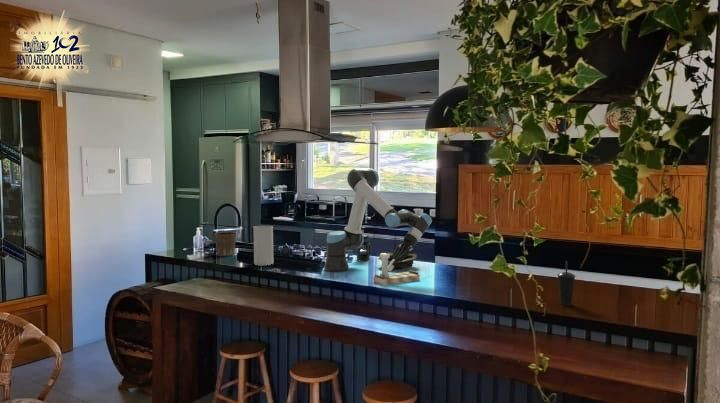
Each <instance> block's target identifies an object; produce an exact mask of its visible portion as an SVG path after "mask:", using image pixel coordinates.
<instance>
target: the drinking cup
mask: <svg viewBox="0 0 720 403" xmlns="http://www.w3.org/2000/svg"><path fill="white" fill-rule="evenodd" d="M556 275H557V282H558V293H559V304H560V306H563V307H564V306H565V307H572V305H573V297H574V287H575V281H576V280H575V278H576V274H574V273H572V272H569V271H568V260H565V271H562V272H560V273H557V274H556Z"/></svg>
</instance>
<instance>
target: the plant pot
mask: <svg viewBox="0 0 720 403" xmlns="http://www.w3.org/2000/svg"><path fill="white" fill-rule="evenodd" d="M237 234H238V233H237V232H236V231H235V232H233V231H226V232H225V231H223V232H214V233H213V235H214V240H215V243H216V244H215V246H216V254H217V256H218V257H219V256H220V257H223V256H225V257H230V256H231V255H233V256H234V255H235V252H236V251H235V250H236V249H235V248H236V239H237Z"/></svg>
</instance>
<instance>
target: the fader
mask: <svg viewBox="0 0 720 403" xmlns="http://www.w3.org/2000/svg"><path fill="white" fill-rule="evenodd" d="M379 257H381V258H382V261H381V272H380V274H379V276H383V277H384V278H387V277H390V276H389V274H390V273H389V270H388V258H390V254H386V252H381V253H379Z"/></svg>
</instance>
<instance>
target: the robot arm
mask: <svg viewBox="0 0 720 403" xmlns="http://www.w3.org/2000/svg"><path fill="white" fill-rule="evenodd" d="M379 177H380V176H379V173H378V172H377V171H376V170H375V169H374V168H369V167H367V168H366V167H363V168H361V167H357V168H352V169H351V170H350V171H349V172H348V174H347V176H346V178H347V181H346V182H347V183H348V185H349V187H350V188H351V189H352V191H354V192H355V193H354V197H353V201H352V207H351V210H350V213H349V218H348V222H347V225H346V226H345V227H344V228H343V229H344V230H336V231H331V232H329V233H327V234H326V260H325V263H324V267H323V269H324V271H325V272H330V273H331V272H332V273H338V272H340V273H341V272H346V271H349V266H350V265H349V263H348V259H347V257H346V256H347V254H346V253H347V252H349V251H355V250H358V248H360V249H361V247H363V246H362V244H363V242H365V239H364V237H363V235H364V233H363V230H362V228H361V227H362V224H363V221H364V217H365V212H366V209H367V205H368V204H369V205H370V206H371V207H372V208H374V210H375V211H377V213H379V214H380V215H381V216H382V217H383V218H384V222H385V224H386V226H388V227H390V228H396V227H401V226H409V227H410V229H408V232H407V233H406V235H404V237H403V241H402V242H401V243H400V244H399V243H397V244H396V247H395V249H394V250H393V251H394V253H393V254H392V256H391V258H392V261H391V262H390V264H389V265H388V272H392V270H394V269H395V268H394V266H395V265H396V264H397V263H398V262H399V261H400V262H401V261H402V260H403V259H404V258H405V257H406V256H407V255H408V254H409V253H410V252H413V251H414V248H413V247H415V246H416V245H417V244H418V241H419V240H420V239H421V237H423V235H424V233H425V232H426V231H427V230H428V229H429V227H430V225H431V224H432V222H433V219H432V217H431V216H430V215H429V214H427V213H424V212H422V213H421V214H420V215H418V214H416V213H414V212H411V211H410V210H408V209H403V208H402V209H401V210H399V211H397V210H395V209H394V208H393V206H392V205H390V204H389V203H388V202H387V201H386V200H385V199H384V198H383V197H382V196H381V195H380V194H379V193H378V192H377V191H376V190H375V189H374V188H375V187H376V186H377V185H378V184H379V181H380V178H379Z"/></svg>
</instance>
